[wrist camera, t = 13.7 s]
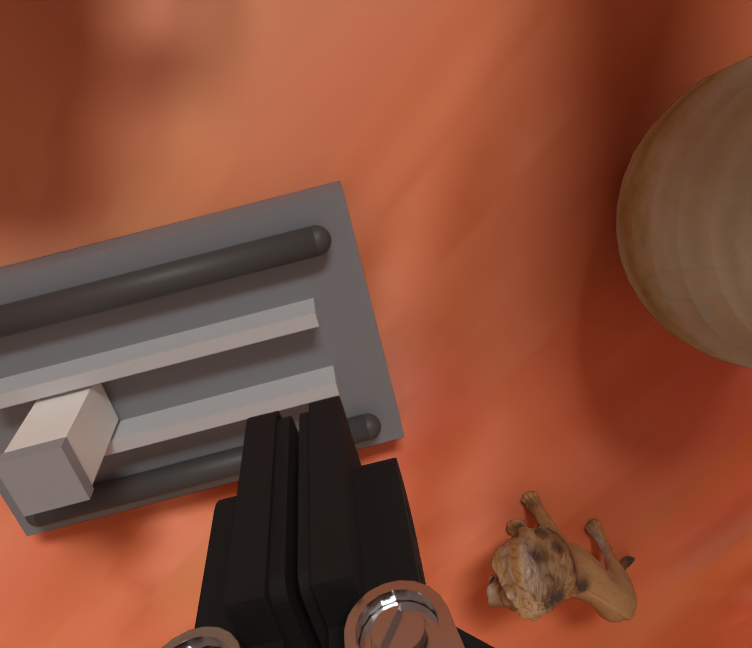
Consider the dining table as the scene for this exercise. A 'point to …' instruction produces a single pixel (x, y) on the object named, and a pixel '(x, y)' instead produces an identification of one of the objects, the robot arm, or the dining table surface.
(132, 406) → the breaker panel
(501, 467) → the dining table surface
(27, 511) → the knob
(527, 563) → the lion figurine
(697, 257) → the decorative ball
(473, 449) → the dining table surface
